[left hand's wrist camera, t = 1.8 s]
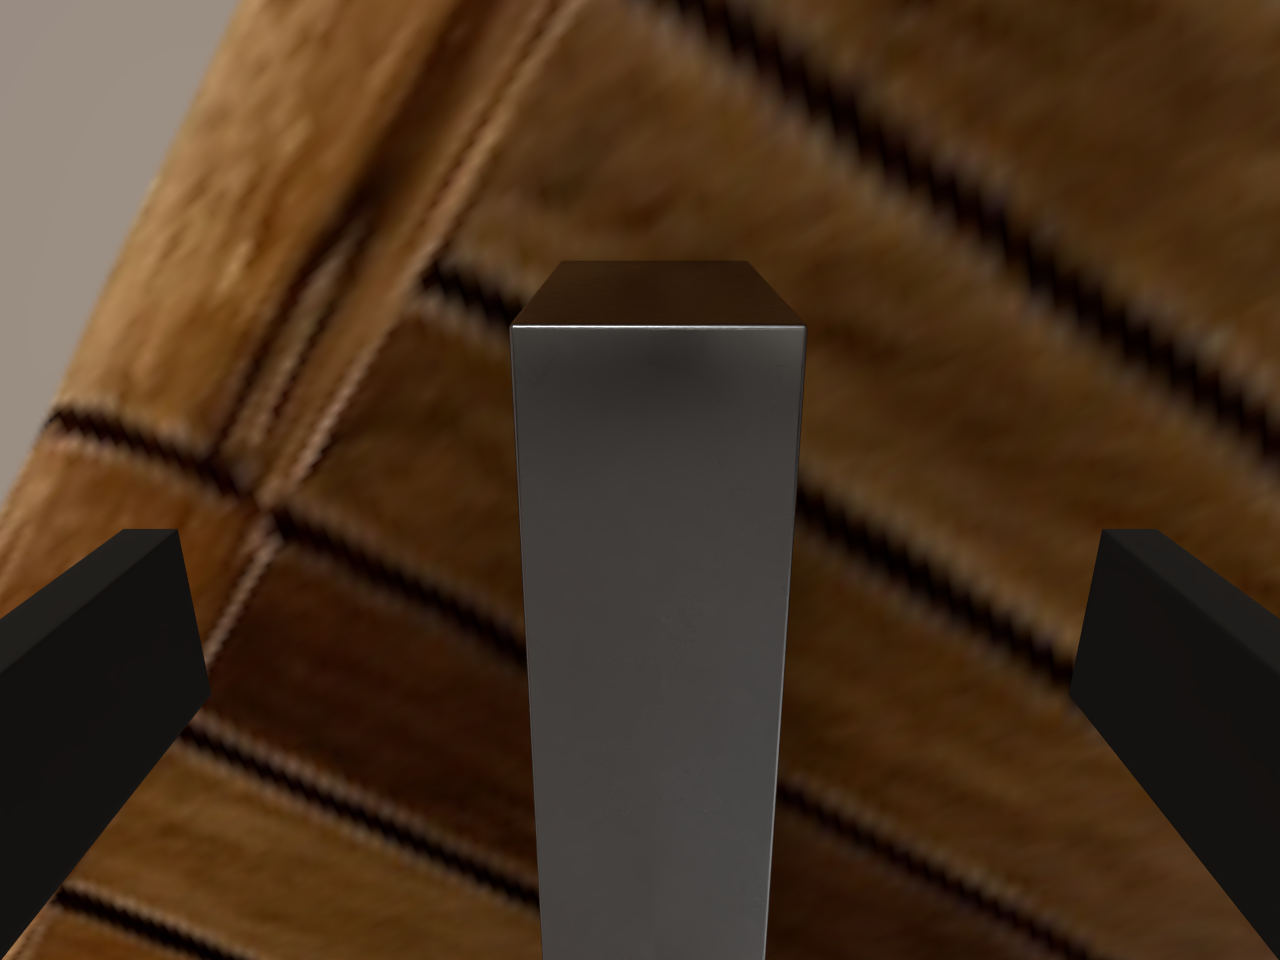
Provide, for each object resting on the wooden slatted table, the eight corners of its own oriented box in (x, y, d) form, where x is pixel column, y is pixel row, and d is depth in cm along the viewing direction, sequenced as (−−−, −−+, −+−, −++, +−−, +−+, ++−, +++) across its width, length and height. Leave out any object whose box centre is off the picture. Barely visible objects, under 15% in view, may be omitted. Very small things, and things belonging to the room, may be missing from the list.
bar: (560, 260, 22) (507, 324, 14) (748, 260, 22) (808, 324, 14) (583, 998, 31) (559, 1303, 23) (717, 998, 31) (742, 1305, 23)
